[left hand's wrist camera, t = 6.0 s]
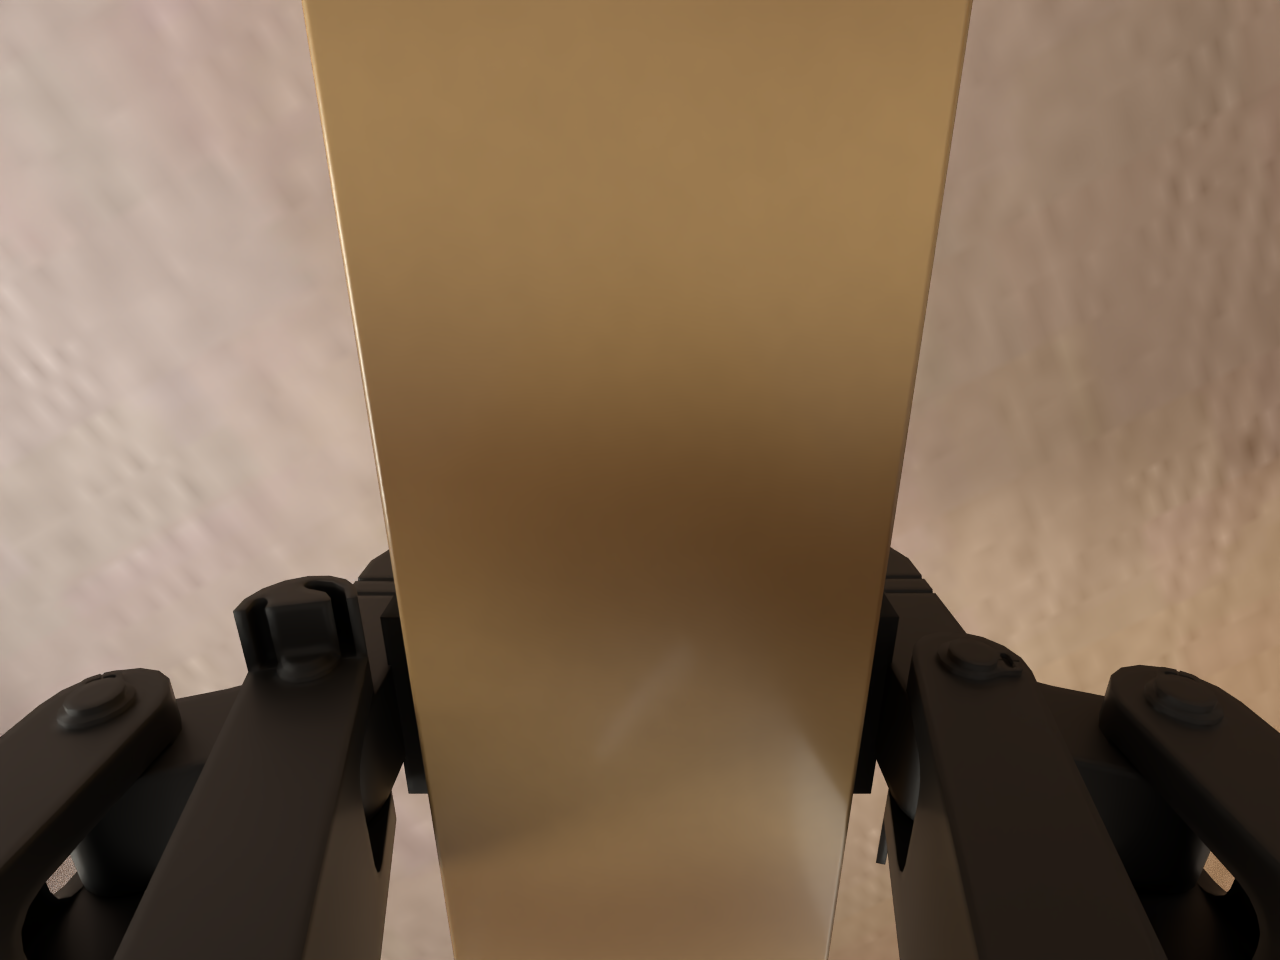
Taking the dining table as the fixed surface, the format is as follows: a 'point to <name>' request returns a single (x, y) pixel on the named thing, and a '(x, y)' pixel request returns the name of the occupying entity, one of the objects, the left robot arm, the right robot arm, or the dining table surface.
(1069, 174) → the dining table surface
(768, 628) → the plank
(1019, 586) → the dining table surface
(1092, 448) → the dining table surface
